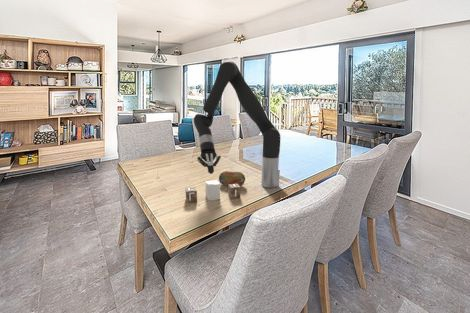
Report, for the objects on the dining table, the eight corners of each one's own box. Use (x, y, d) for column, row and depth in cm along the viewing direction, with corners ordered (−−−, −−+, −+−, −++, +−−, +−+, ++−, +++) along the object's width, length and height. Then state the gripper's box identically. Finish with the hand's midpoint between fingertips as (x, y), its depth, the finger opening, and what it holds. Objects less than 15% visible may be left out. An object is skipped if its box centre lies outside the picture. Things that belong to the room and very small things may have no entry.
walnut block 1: (237, 194, 142) (237, 183, 140) (240, 198, 137) (240, 186, 135) (228, 195, 140) (228, 184, 139) (230, 199, 136) (230, 187, 134)
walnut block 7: (195, 198, 136) (195, 186, 135) (197, 202, 131) (196, 190, 130) (185, 199, 135) (185, 187, 133) (186, 203, 130) (186, 191, 129)
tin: (218, 185, 155) (218, 171, 153) (220, 183, 158) (220, 169, 156) (244, 187, 151) (244, 173, 149) (245, 185, 154) (245, 171, 152)
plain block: (217, 194, 141) (216, 180, 139) (219, 199, 136) (219, 184, 134) (205, 195, 139) (205, 181, 137) (208, 200, 134) (208, 185, 132)
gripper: (195, 141, 141) (199, 170, 132) (219, 140, 144) (225, 168, 136) (194, 149, 147) (197, 177, 139) (217, 148, 150) (222, 175, 142)
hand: (211, 173), depth 137 cm, fingers closed
